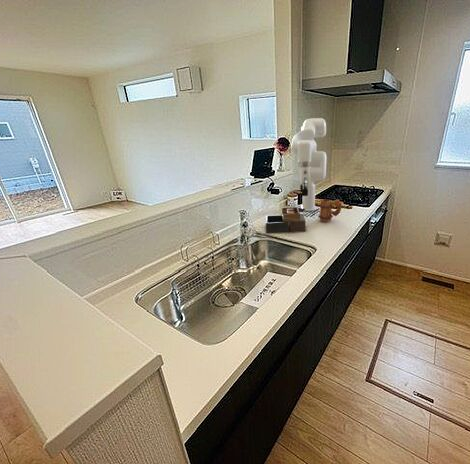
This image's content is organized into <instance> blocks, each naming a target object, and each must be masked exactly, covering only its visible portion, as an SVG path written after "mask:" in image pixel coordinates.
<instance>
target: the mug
mask: <svg viewBox="0 0 470 464" xmlns="http://www.w3.org/2000/svg"><path fill="white" fill-rule="evenodd" d="M334 206H335V207H336V209H335V210H332V208H333V207H334ZM342 206H343V205H342V203H341V201H340V200H339V199H337V198H336V199H335V200H331V199H321V200H320V204H319V205H318V207H319V208H320V210H319V214H318V215H317V216H318V218H319V221H321V222H322V223H328V222H331V221H332V220H333V219H332V218H333V217H337V216H338V215H339V214H340V213H341V211H342Z"/></svg>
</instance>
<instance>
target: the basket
mask: <svg viewBox="0 0 470 464" xmlns="http://www.w3.org/2000/svg"><path fill="white" fill-rule="evenodd" d="M265 232H266V234H281V233H282V234H285V233H286V234H287V233H289V232H290V230H289V222H283V217H282V214H272V215H271V214H269V215H265Z"/></svg>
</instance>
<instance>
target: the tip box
mask: <svg viewBox="0 0 470 464" xmlns="http://www.w3.org/2000/svg"><path fill="white" fill-rule="evenodd" d="M287 208H293V209H294V213H295V214H287ZM304 212H306V211H305V208H304V206H303V205H302V204H301V205H300V206H299V207H298V206H295V207H294V206H292V207H281V215H282V217H283V222H291V221H300V214H301V213H304Z"/></svg>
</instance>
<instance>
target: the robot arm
mask: <svg viewBox="0 0 470 464" xmlns="http://www.w3.org/2000/svg"><path fill="white" fill-rule="evenodd" d="M326 135H327V121H326V120H325V118H323V117H313V118H307V119H305V120H304V122H303V124H302V126H301V127H300V131H298V132H297V133H295V135H293V137H292V140H291V144H290V145H291V146H290V148H291V152H292V154H295V155H297V168H299V183H300V186H299V187H300V188H299V189H300V191H299V192H300V193H301V196H302V203H301V206H302V205H303V206H304V208H305V211H304V212H314V211H316V210H317V209H318V206H316V184H315V182H314V181H325V179H326V176H327V159H328V158H327V152H325V151H322V150H317V147H318V145H317V143H316V140H315V139H314V138H324V137H325V136H326Z"/></svg>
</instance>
